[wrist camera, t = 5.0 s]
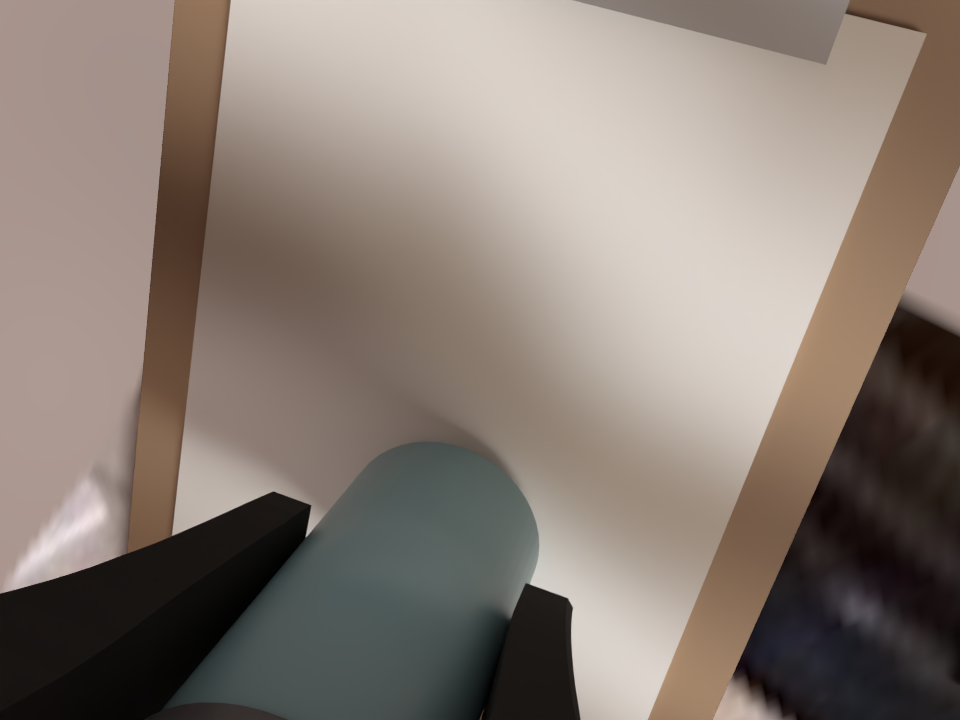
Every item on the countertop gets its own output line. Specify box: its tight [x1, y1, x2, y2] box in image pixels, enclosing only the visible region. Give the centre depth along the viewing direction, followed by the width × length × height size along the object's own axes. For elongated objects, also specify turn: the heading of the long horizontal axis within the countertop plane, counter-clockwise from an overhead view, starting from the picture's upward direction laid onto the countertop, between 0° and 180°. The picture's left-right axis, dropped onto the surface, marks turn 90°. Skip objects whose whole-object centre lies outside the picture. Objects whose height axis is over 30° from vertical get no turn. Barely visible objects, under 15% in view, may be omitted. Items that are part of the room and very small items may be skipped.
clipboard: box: [127, 0, 960, 720], centre depth 14 cm, size 14×11×1 cm
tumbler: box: [145, 442, 539, 720], centre depth 11 cm, size 3×3×7 cm
